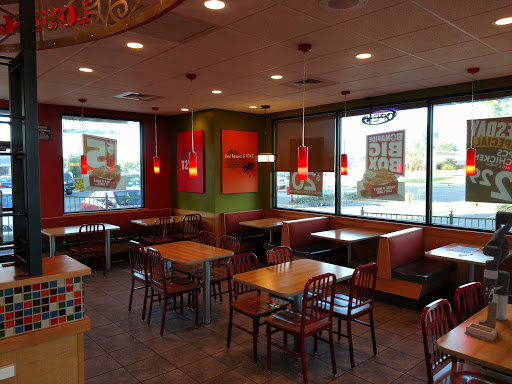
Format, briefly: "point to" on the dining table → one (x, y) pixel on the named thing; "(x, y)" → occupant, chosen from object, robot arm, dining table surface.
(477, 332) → the block holder
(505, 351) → the dining table surface
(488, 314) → the wooden block
